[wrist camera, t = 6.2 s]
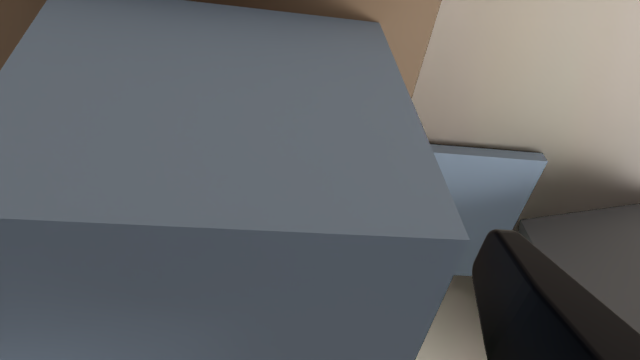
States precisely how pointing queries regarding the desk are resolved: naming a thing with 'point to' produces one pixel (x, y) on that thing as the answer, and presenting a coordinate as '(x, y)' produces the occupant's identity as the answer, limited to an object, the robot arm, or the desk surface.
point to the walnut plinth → (348, 3)
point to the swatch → (487, 190)
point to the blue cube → (215, 189)
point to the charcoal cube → (596, 253)
